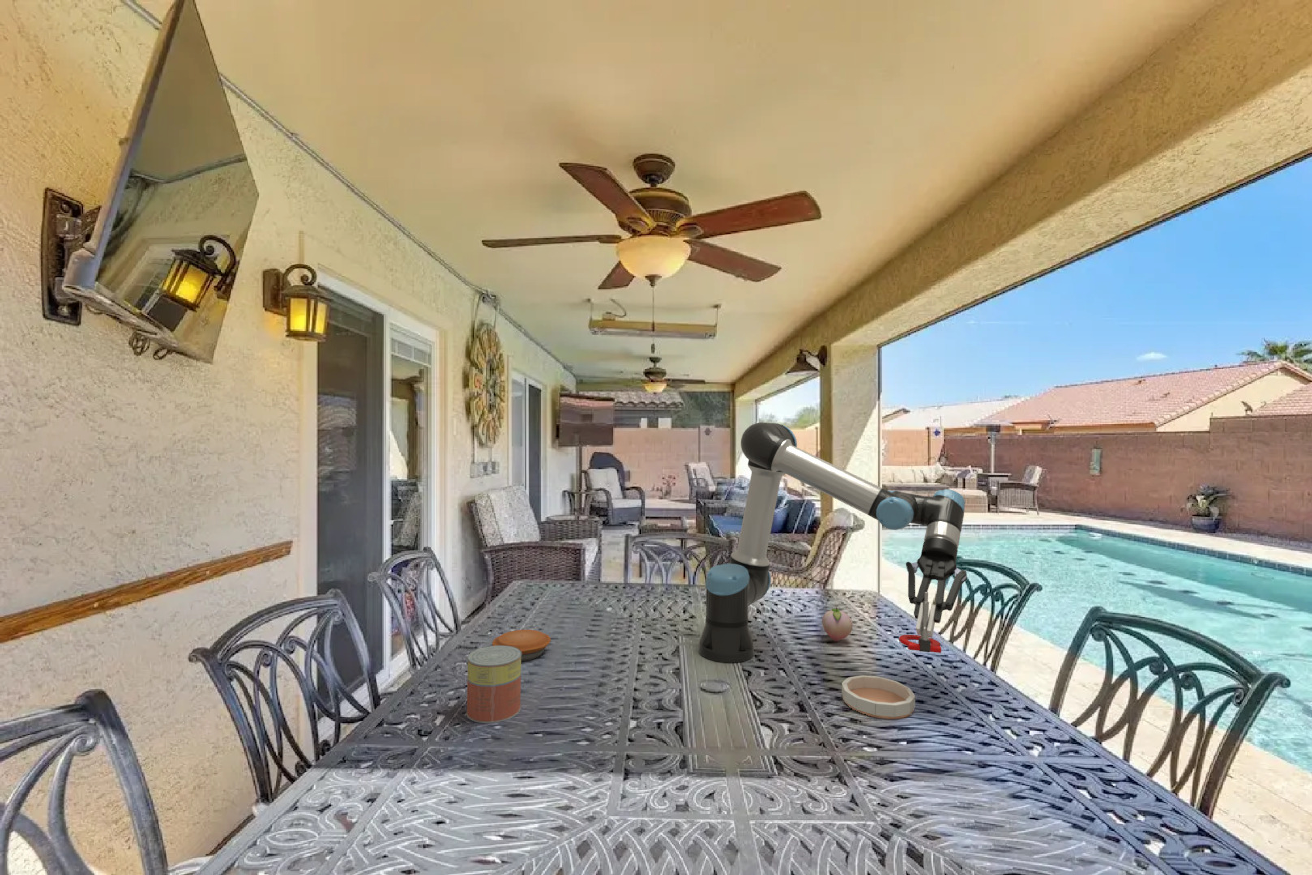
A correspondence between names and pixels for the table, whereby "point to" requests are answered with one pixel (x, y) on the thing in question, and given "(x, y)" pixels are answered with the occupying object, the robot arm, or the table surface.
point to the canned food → (493, 684)
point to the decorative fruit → (837, 624)
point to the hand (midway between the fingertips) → (924, 632)
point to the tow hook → (922, 634)
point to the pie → (524, 642)
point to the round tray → (878, 697)
